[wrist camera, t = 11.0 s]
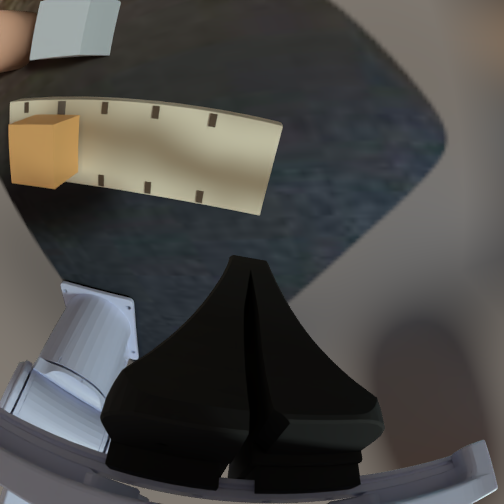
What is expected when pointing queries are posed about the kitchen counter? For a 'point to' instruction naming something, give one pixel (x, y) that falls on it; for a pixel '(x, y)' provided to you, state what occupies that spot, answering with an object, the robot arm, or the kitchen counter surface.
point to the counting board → (167, 148)
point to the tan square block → (44, 150)
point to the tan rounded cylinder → (16, 38)
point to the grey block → (74, 28)
